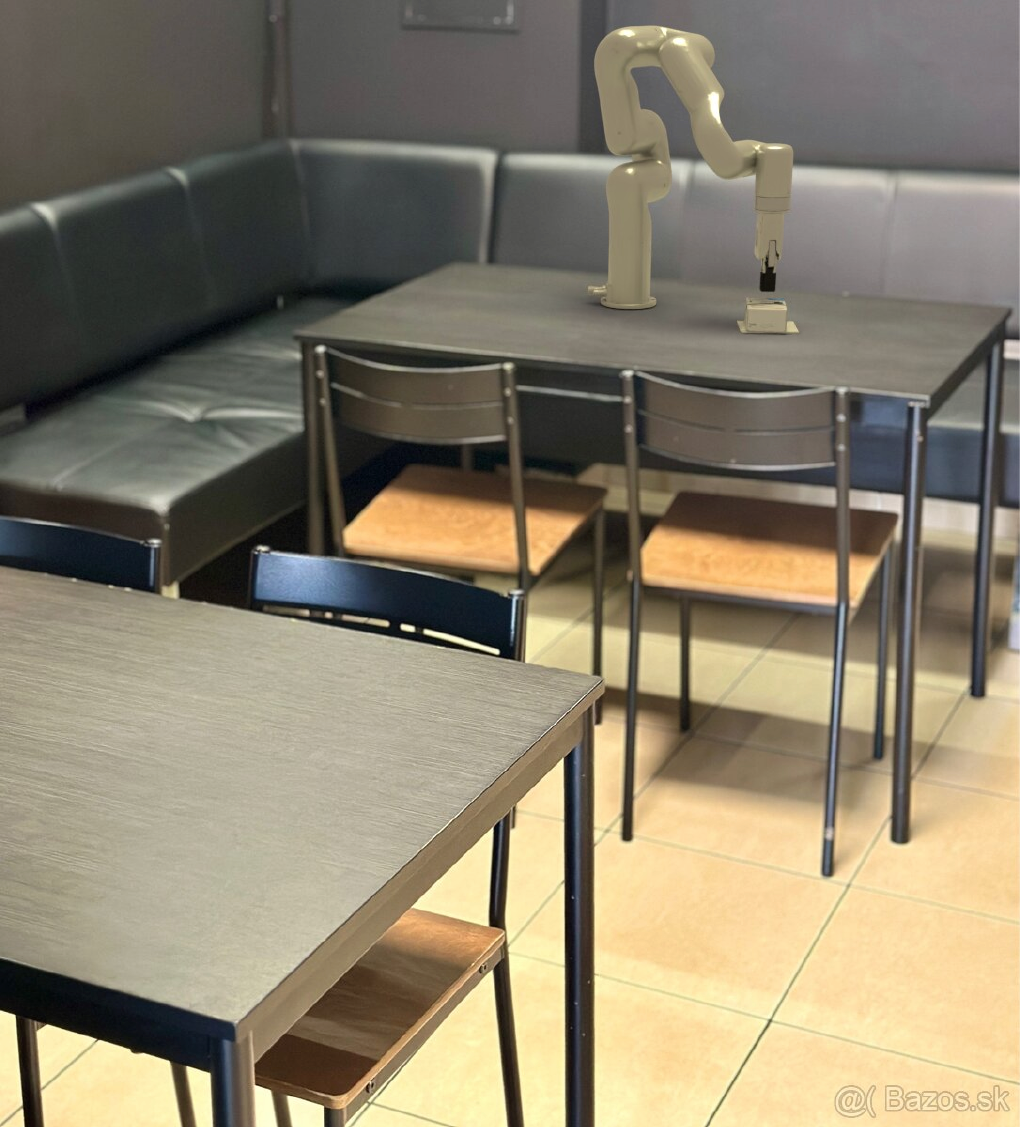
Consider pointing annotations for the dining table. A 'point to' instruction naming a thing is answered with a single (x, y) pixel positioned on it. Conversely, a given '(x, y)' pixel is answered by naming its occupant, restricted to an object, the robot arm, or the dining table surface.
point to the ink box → (766, 314)
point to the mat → (790, 330)
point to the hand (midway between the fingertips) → (767, 290)
